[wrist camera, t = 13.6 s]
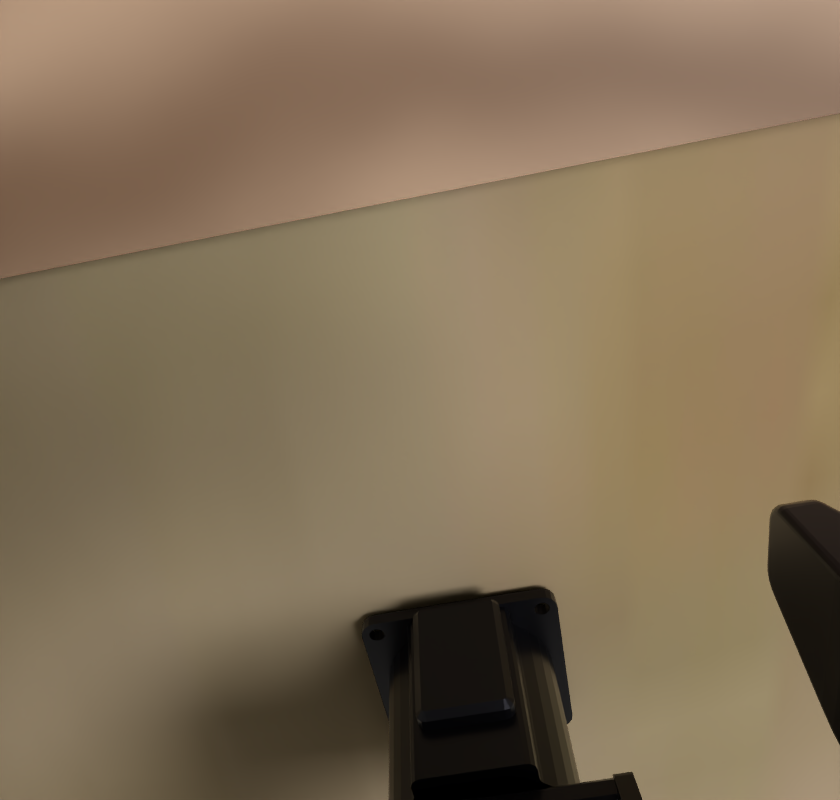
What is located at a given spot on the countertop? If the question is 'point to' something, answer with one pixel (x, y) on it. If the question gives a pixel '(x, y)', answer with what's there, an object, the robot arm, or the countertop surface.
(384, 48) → the shelf board
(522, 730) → the robot arm
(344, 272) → the countertop surface
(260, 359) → the countertop surface
